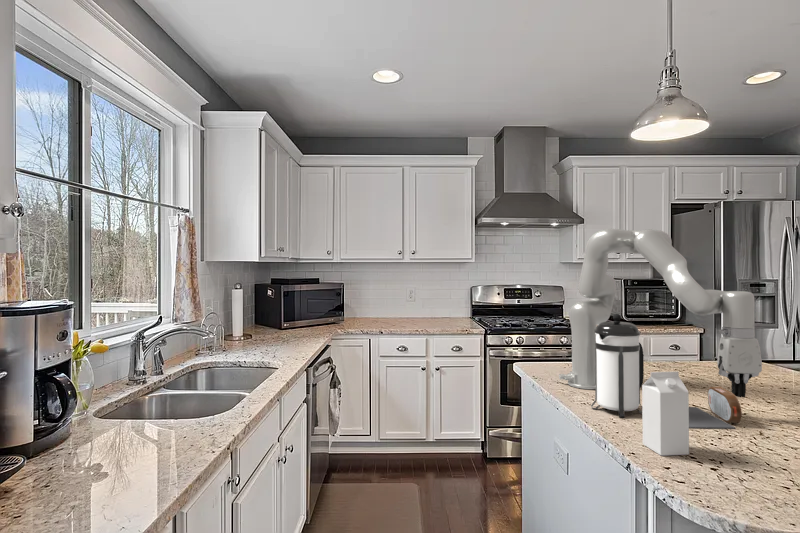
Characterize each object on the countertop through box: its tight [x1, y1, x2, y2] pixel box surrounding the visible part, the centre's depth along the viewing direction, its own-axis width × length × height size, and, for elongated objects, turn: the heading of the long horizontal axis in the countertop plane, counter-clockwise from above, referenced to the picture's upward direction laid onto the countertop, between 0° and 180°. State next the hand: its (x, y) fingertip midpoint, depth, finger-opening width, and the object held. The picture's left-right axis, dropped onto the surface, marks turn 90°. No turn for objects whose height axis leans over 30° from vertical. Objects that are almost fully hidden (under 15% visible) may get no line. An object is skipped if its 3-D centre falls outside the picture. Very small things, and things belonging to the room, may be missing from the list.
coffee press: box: [591, 313, 645, 419], centre depth 143 cm, size 17×16×30 cm
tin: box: [707, 385, 743, 424], centre depth 134 cm, size 15×3×8 cm, turn 168°
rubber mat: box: [689, 406, 736, 430], centre depth 135 cm, size 12×18×1 cm
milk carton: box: [641, 371, 690, 457], centre depth 112 cm, size 7×7×19 cm
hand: (738, 395), depth 134 cm, fingers closed
